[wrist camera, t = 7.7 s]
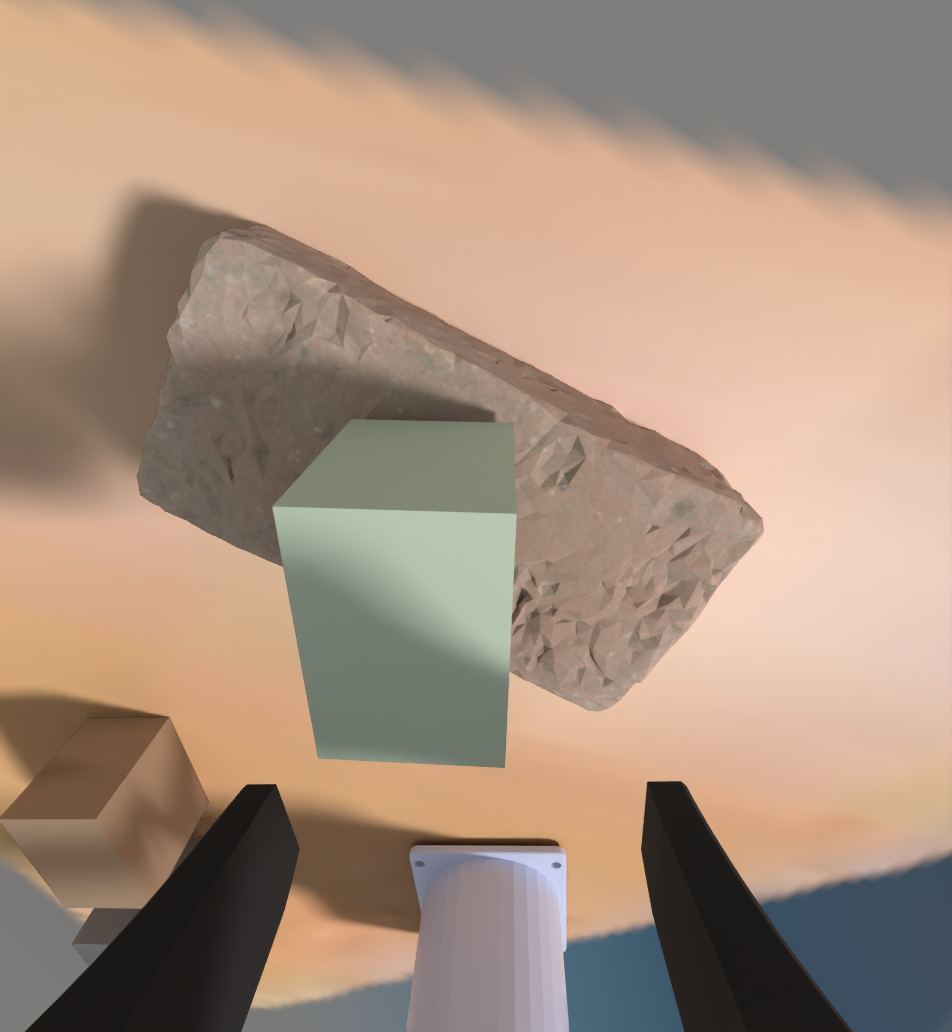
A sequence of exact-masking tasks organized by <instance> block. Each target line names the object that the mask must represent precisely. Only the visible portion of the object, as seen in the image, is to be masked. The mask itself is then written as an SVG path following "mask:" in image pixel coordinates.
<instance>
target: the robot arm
mask: <svg viewBox="0 0 952 1032" xmlns="http://www.w3.org/2000/svg"><path fill="white" fill-rule="evenodd" d="M299 849H300V848H299V846H298V843H297V840H296V837H295V835H294V832H293V829H292V826H291V824H290V821H289V818H288V815H287V813H286V810H285V807H284V804H283V802H282V799H281V796H280V793H279V791H278V788H277V785H276V784H250V785H246V786H245V787H244V788H243V789H242V790H241V791H240V793H239V794H238V795H237V796H236V797H235V799H234V800H233V801H232V802H231V803H230V805H229V806H228V807H227V808H226V809H225V811H224V812H223V813H222V814H221V816H220V817H219V818H218V819H217V820H216V822H215V823H214V824H213V825H212V827H211V828H210V829H209V830H208V831H207V833H206V834H205V835H204V836H203V837H202V839H201V840H200V841H199V842H198V843H197V845H196V846H195V847H194V848H193V849H192V851H191V852H190V853H189V854H188V855H187V857H186V858H185V859H184V860H183V861H182V863H181V864H180V865H179V866H178V867H177V868H176V870H175V871H174V872H173V873H172V874H171V875H170V877H169V878H168V879H167V880H166V881H165V882H164V884H163V885H162V886H161V887H160V888H159V889H158V891H157V892H156V893H155V894H154V895H153V896H152V898H151V899H150V900H149V901H148V902H147V903H146V904H145V906H144V907H143V908H142V909H141V910H140V911H139V912H138V914H137V915H136V916H135V917H134V918H133V919H132V920H131V921H130V922H129V923H128V924H127V926H126V927H125V928H124V929H123V930H122V931H121V932H120V933H119V934H118V935H117V937H116V938H115V939H114V940H113V941H112V942H111V943H110V944H109V945H108V946H107V947H106V949H105V950H104V951H103V952H102V953H101V954H100V955H99V956H98V957H97V958H96V959H95V961H94V962H93V963H92V964H91V965H90V966H89V967H88V968H87V969H86V970H85V971H84V972H83V973H82V974H81V975H80V976H79V977H78V978H77V979H76V981H75V982H74V983H73V984H72V985H71V986H70V987H69V988H68V989H67V990H66V991H65V992H64V993H63V994H62V995H61V996H60V997H59V998H58V999H57V1000H56V1001H55V1002H54V1003H53V1004H52V1005H51V1006H50V1007H49V1008H48V1009H47V1010H46V1011H45V1012H44V1013H43V1014H42V1015H41V1016H40V1017H39V1018H38V1019H37V1020H36V1021H35V1022H34V1023H33V1024H32V1025H31V1026H30V1027H29V1028H28V1029H27V1030H26V1031H25V1032H241V1031H242V1028H243V1025H244V1023H245V1020H246V1017H247V1014H248V1011H249V1009H250V1006H251V1003H252V1000H253V998H254V995H255V992H256V989H257V986H258V984H259V981H260V978H261V975H262V972H263V970H264V967H265V964H266V961H267V959H268V956H269V953H270V950H271V947H272V944H273V941H274V939H275V936H276V933H277V930H278V927H279V924H280V922H281V919H282V916H283V913H284V910H285V906H286V902H287V899H288V895H289V891H290V887H291V883H292V879H293V875H294V871H295V866H296V862H297V858H298V853H299ZM641 852H642V857H643V863H644V869H645V875H646V880H647V886H648V891H649V897H650V902H651V908H652V913H653V917H654V921H655V925H656V928H657V932H658V936H659V940H660V943H661V947H662V951H663V955H664V958H665V962H666V965H667V969H668V973H669V977H670V980H671V984H672V988H673V991H674V995H675V999H676V1002H677V1006H678V1010H679V1014H680V1017H681V1021H682V1025H683V1028H684V1032H853V1031H852V1030H851V1028H850V1027H849V1026H848V1025H847V1023H846V1022H845V1021H844V1020H843V1018H842V1017H841V1016H840V1015H839V1013H838V1012H837V1011H836V1009H835V1008H834V1007H833V1005H832V1004H831V1003H830V1001H829V1000H828V999H827V998H826V996H825V995H824V994H823V992H822V991H821V990H820V988H819V987H818V986H817V985H816V983H815V982H814V980H813V979H812V978H811V977H810V975H809V973H808V972H807V971H806V969H805V968H804V967H803V965H802V964H801V963H800V961H799V960H798V959H797V957H796V956H795V954H794V953H793V952H792V950H791V949H790V948H789V946H788V945H787V943H786V942H785V941H784V939H783V938H782V936H781V935H780V934H779V932H778V931H777V930H776V928H775V927H774V925H773V924H772V922H771V921H770V919H769V918H768V916H767V915H766V913H765V912H764V910H763V909H762V907H761V906H760V904H759V903H758V902H757V900H756V899H755V897H754V896H753V894H752V893H751V891H750V890H749V888H748V887H747V885H746V884H745V882H744V881H743V879H742V878H741V876H740V875H739V873H738V872H737V870H736V869H735V867H734V866H733V864H732V862H731V861H730V859H729V858H728V856H727V854H726V853H725V851H724V850H723V848H722V846H721V845H720V843H719V842H718V840H717V838H716V837H715V835H714V834H713V832H712V830H711V829H710V827H709V825H708V824H707V822H706V820H705V818H704V817H703V815H702V813H701V812H700V810H699V808H698V806H697V804H696V803H695V801H694V799H693V797H692V796H691V794H690V792H689V790H688V788H687V786H686V785H685V784H683V783H682V782H681V781H669V782H647V791H646V802H645V813H644V824H643V835H642V846H641ZM409 859H410V863H411V868H412V873H413V877H414V882H415V886H416V891H417V896H418V900H419V905H420V909H421V921H420V929H419V937H418V944H417V952H416V960H415V968H414V975H413V983H412V991H411V999H410V1007H409V1014H408V1022H407V1030H406V1032H569V1024H568V1012H567V998H566V985H565V973H564V960H563V952H564V951H565V950H566V852H565V850H564V849H563V848H562V847H559V846H480V845H416V846H413V847H412V848H411V849H410V854H409Z"/></svg>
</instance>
